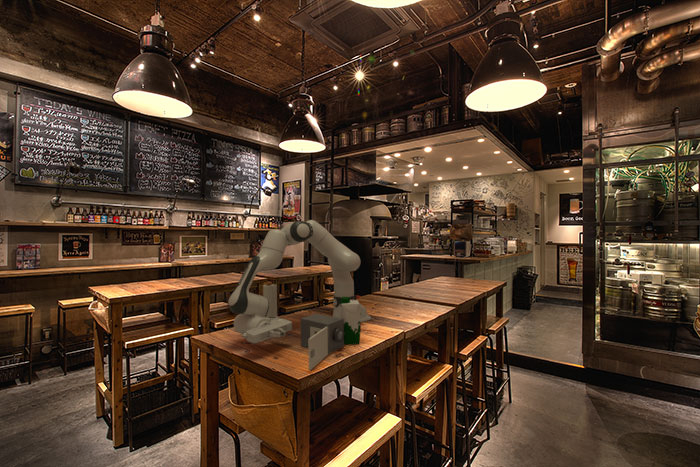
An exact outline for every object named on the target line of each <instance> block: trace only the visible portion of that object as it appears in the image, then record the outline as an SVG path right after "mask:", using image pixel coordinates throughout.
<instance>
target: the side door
mask: <svg viewBox="0 0 700 467" xmlns="http://www.w3.org/2000/svg"><path fill="white" fill-rule="evenodd" d="M307 352H308V371H311V370H313V369H314V368H316V366H317V365H318V364H319V363H320V362H321V361H323V360H324V359H325V358H326V357H327V356H328V355H330V354H329V326H326V327H325V328H323V329H322V330H321V331H319V332H318V333H316V334H315V335H313V336H312V337H311V338H309V339H308V351H307Z"/></svg>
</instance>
